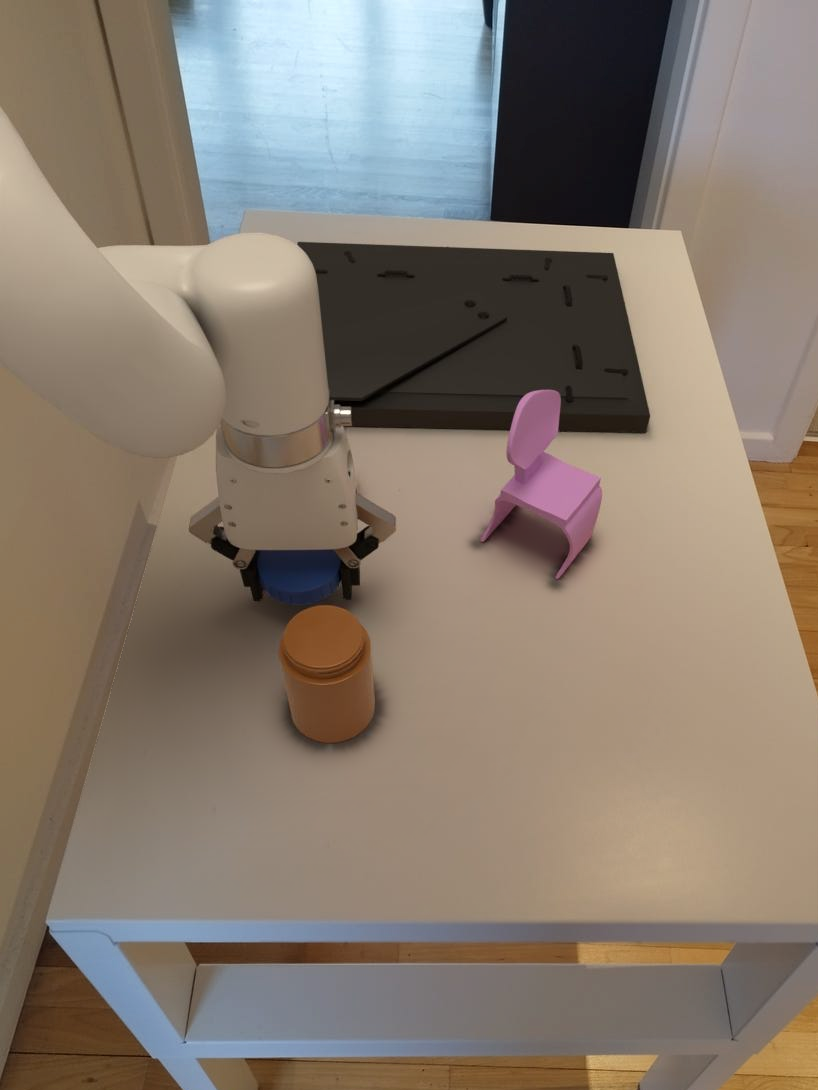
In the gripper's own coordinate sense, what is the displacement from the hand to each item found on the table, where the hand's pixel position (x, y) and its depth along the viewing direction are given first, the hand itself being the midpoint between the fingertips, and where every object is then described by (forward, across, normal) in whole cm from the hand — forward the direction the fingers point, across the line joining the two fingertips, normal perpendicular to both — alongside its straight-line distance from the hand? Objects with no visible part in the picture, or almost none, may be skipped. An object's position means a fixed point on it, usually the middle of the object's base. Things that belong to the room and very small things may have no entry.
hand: (303, 586), depth 77 cm
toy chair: (+2, -21, -7) cm, 22 cm away
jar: (+2, -3, +11) cm, 11 cm away
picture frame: (+2, -15, -38) cm, 41 cm away
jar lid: (-3, 0, 0) cm, 3 cm away
